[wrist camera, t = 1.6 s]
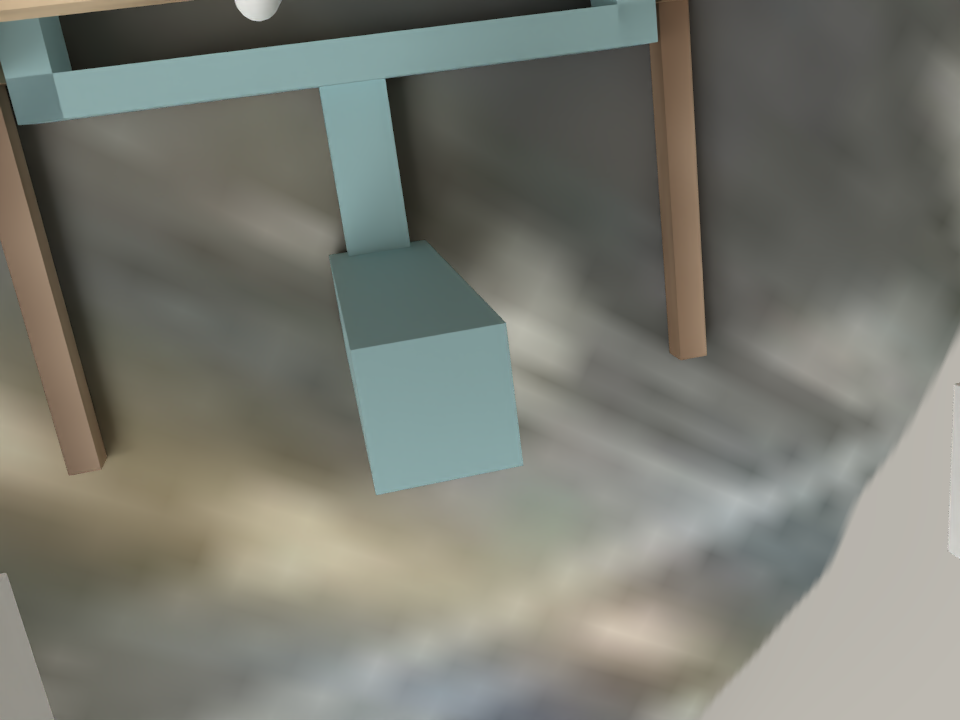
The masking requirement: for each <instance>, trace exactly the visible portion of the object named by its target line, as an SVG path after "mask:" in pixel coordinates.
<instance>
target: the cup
mask: <svg viewBox="0 0 960 720" xmlns="http://www.w3.org/2000/svg"><path fill="white" fill-rule="evenodd" d="M281 1H282V0H235V3H236V6H237V8H238V9H239V11H240V12H241V13H242V14H243V15H244V16H245V17H247V18H249V19H250V20H253V21H263V20H267V19H269V18H270V17H272V16H273V15H274V14H275V13H276V11H277V9H278V7H279V5H280V3H281Z"/></svg>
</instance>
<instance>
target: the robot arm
mask: <svg viewBox="0 0 960 720" xmlns="http://www.w3.org/2000/svg"><path fill="white" fill-rule="evenodd" d="M951 452H952V453H951V477H950V478H951V479H950V504H949V506H950V507H949V531H948V551H949V552H950V553H952V554H953V555H954V556H956V557H957V558H959V559H960V383H957V384H954V399H953V425H952V451H951ZM0 720H54V717H53V714H52V711H51V708H50V705H49V702H48V699H47V695H46V692H45V689H44V686H43V683H42V680H41V677H40V674H39V671H38V668H37V665H36V662H35V659H34V656H33V653H32V649H31V646H30V643H29V640H28V637H27V634H26V631H25V628H24V625H23V622H22V619H21V616H20V613H19V610H18V606H17V603H16V600H15V597H14V594H13V591H12V588H11V585H10V582H9V579H8V576H7V573H2V574H0Z"/></svg>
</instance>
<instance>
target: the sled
mask: <svg viewBox="0 0 960 720" xmlns="http://www.w3.org/2000/svg"><path fill="white" fill-rule="evenodd" d="M655 42H658V33H657V17H656V1H655V0H591V8H582V9H574V10H566V11H558V12H550V13H542V14H533V15H525V16H517V17H509V18H501V19H492V20H484V21H476V22H468V23H460V24H452V25H443V26H435V27H427V28H419V29H411V30H402V31H394V32H386V33H378V34H370V35H362V36H353V37H345V38H337V39H329V40H321V41H312V42H304V43H296V44H288V45H280V46H272V47H263V48H255V49H247V50H239V51H231V52H222V53H214V54H206V55H198V56H190V57H182V58H173V59H165V60H157V61H149V62H141V63H133V64H124V65H116V66H108V67H100V68H92V69H83V70H75V71H72V68H71V64H70V60H69V56H68V52H67V48H66V44H65V41H64V37H63V33H62V29H61V25H60V21H59V17H58V16H50V17H42V18H33V19H24V20H15V21H6V22H0V61H1V65H2V69H3V72H4V76H5V79H6V83H7V87H8V90H9V94H10V98H11V101H12V105H13V109H14V112H15V116H16V120H17V123H18V125H28V124H42V123H50V122H57V121H65V120H73V119H80V118H88V117H96V116H103V115H111V114H119V113H126V112H134V111H142V110H149V109H157V108H165V107H173V106H180V105H188V104H196V103H203V102H211V101H219V100H226V99H234V98H242V97H249V96H257V95H265V94H272V93H280V92H288V91H295V90H303V89H311V88H318V87H319V92H320V98H321V104H322V109H323V115H324V121H325V127H326V132H327V138H328V144H329V150H330V155H331V161H332V167H333V173H334V179H335V184H336V190H337V196H338V202H339V207H340V213H341V219H342V225H343V231H344V236H345V242H346V248H347V252H345V253H339V254H332V255H329V258H330V264H331V270H332V275H333V281H334V286H335V292H336V297H337V303H338V309H339V314H340V320H341V325H342V331H343V336H344V342H345V348H346V352H347V357H348V362H349V367H350V372H351V376H352V381H353V386H354V391H355V396H356V401H357V405H358V410H359V415H360V420H361V425H362V429H363V434H364V439H365V444H366V449H367V454H368V458H369V463H370V468H371V473H372V478H373V482H374V487H375V492H376V495H379V494H384V493H389V492H394V491H399V490H404V489H409V488H414V487H419V486H424V485H429V484H434V483H439V482H444V481H449V480H454V479H459V478H463V477H468V476H473V475H478V474H483V473H488V472H493V471H498V470H503V469H508V468H513V467H518V466H523V459H522V451H521V443H520V435H519V427H518V418H517V410H516V402H515V394H514V386H513V377H512V369H511V361H510V353H509V345H508V336H507V328H506V323H505V322H504V321H503V320H502V318H501V317H500V316H499V315H498V314H497V313H496V312H495V311H494V310H493V309H492V308H491V307H490V306H489V305H488V304H487V303H486V302H485V301H484V300H483V299H482V298H481V297H480V296H479V295H478V294H477V293H476V292H475V291H474V290H473V289H472V288H471V287H470V286H469V284H468V283H467V282H466V281H465V280H464V279H463V278H462V277H461V276H460V275H459V274H458V273H457V272H456V271H455V270H454V269H453V268H452V267H451V266H450V265H449V264H448V263H447V262H446V261H445V260H444V259H443V258H442V257H441V256H440V255H439V254H438V253H437V252H436V250H435V249H434V248H433V247H432V246H431V245H430V244H429V243H428V242H427V241H426V240H420V241H414V242H410V239H409V233H408V226H407V220H406V213H405V206H404V200H403V193H402V187H401V180H400V173H399V167H398V160H397V154H396V147H395V140H394V134H393V127H392V121H391V114H390V107H389V101H388V94H387V88H386V81H385V79H388V78H395V77H403V76H411V75H418V74H426V73H434V72H441V71H449V70H457V69H464V68H472V67H480V66H487V65H495V64H503V63H510V62H518V61H526V60H533V59H541V58H549V57H556V56H564V55H572V54H579V53H587V52H595V51H602V50H610V49H618V48H626V47H632V46H638V45H644V44H649V43H655Z"/></svg>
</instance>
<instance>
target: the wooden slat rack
mask: <svg viewBox="0 0 960 720" xmlns="http://www.w3.org/2000/svg"><path fill="white" fill-rule="evenodd" d="M183 1H192V0H0V22H6V21H15V20H24V19H33V18H42V17H50V16H59V15H68V14H77V13H86V12H95V11H104V10H112V9H121V8H130V7H139V6H148V5H157V4H166V3H174V2H183ZM655 1H656V17H657V33H658V42H655V43H649V46H650V61H651V76H652V92H653V107H654V122H655V137H656V153H657V168H658V183H659V198H660V214H661V229H662V244H663V259H664V274H665V290H666V305H667V320H668V335H669V351H670V353H671V354H672V355H674V356H675V357H677V358H678V359H680V360H685V359H690V358H695V357H701V356H706V355H707V349H706V330H705V311H704V292H703V273H702V253H701V234H700V215H699V196H698V177H697V158H696V139H695V120H694V101H693V82H692V63H691V44H690V25H689V6H688V0H655ZM5 85H7V83H6V79H5V76H4V72H3V69H2V65H1V61H0V240H1V244H2V247H3V250H4V254H5V257H6V261H7V264H8V268H9V271H10V275H11V278H12V281H13V285H14V288H15V292H16V295H17V299H18V302H19V306H20V309H21V312H22V316H23V319H24V323H25V326H26V330H27V333H28V337H29V340H30V343H31V347H32V350H33V354H34V357H35V361H36V364H37V368H38V371H39V374H40V378H41V381H42V385H43V388H44V392H45V395H46V399H47V402H48V405H49V409H50V412H51V416H52V419H53V423H54V426H55V430H56V433H57V436H58V440H59V443H60V447H61V450H62V454H63V457H64V461H65V464H66V468H67V471H68V474H69V476H70V475H75V474H80V473H85V472H91V471H96V470H101V469H102V467H103V465H104V463H105V461H106V459H107V455H106V452H105V448H104V444H103V441H102V437H101V433H100V430H99V426H98V422H97V419H96V415H95V412H94V408H93V404H92V401H91V397H90V393H89V390H88V386H87V382H86V379H85V375H84V371H83V368H82V364H81V360H80V357H79V353H78V350H77V346H76V342H75V339H74V335H73V331H72V328H71V324H70V320H69V317H68V313H67V309H66V306H65V302H64V298H63V295H62V291H61V288H60V284H59V280H58V277H57V273H56V269H55V266H54V262H53V258H52V255H51V251H50V247H49V244H48V240H47V236H46V233H45V229H44V226H43V222H42V218H41V215H40V211H39V207H38V204H37V200H36V196H35V193H34V189H33V185H32V182H31V178H30V175H29V171H28V167H27V164H26V160H25V156H24V153H23V149H22V145H21V142H20V138H19V134H18V131H17V127H16V123H15V120H14V116H13V113H12V109H11V105H10V102H9V98H8V94H7V91H6V87H5Z"/></svg>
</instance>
